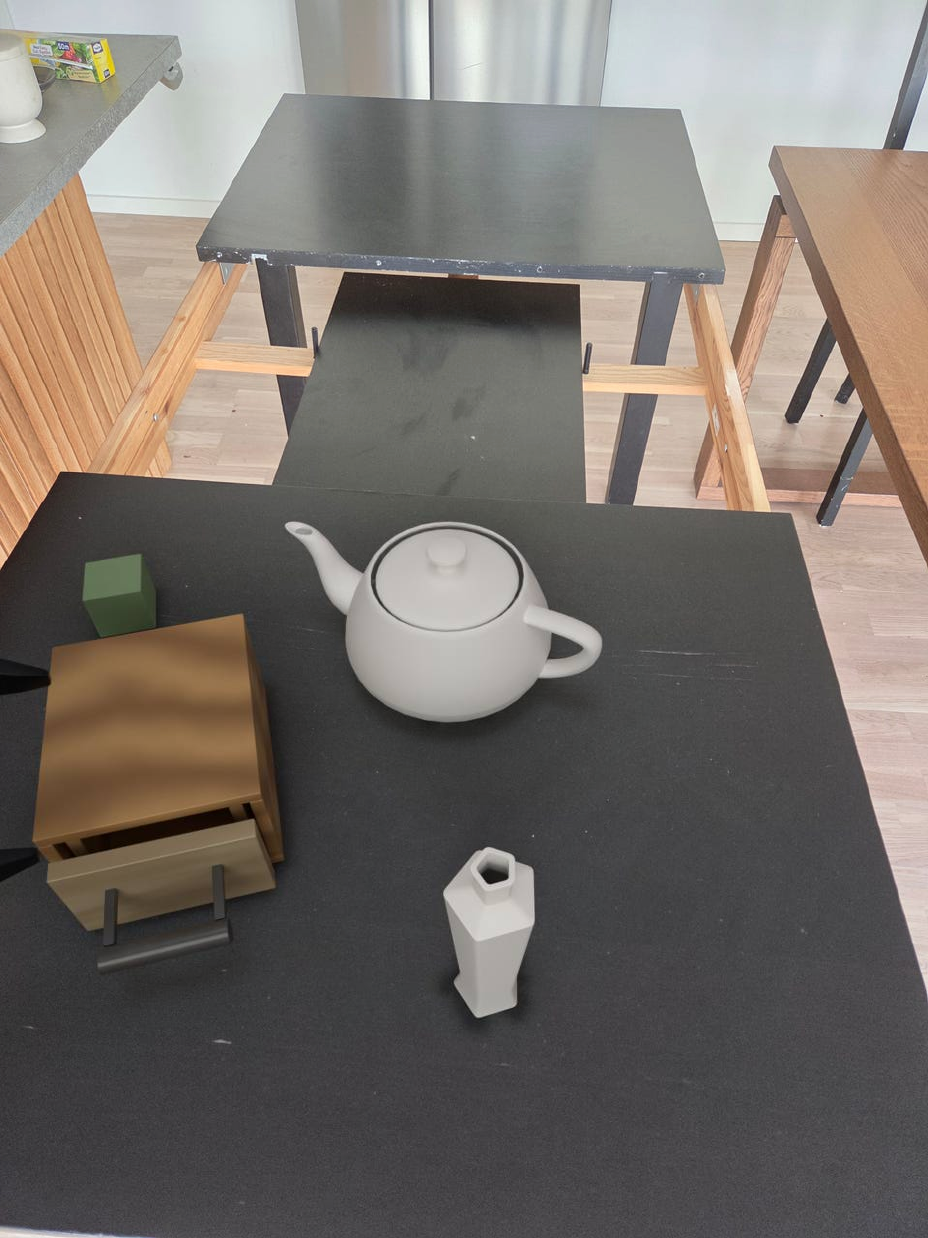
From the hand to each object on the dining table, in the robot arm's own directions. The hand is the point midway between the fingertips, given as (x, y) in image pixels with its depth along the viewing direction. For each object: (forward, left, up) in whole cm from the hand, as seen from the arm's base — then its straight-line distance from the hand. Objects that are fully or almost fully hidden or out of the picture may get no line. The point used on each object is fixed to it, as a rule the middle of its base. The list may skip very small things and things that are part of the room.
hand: (44, 760), depth 41 cm
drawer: (+3, +3, -16) cm, 16 cm away
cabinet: (+3, +8, -17) cm, 19 cm away
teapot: (+23, +15, -17) cm, 32 cm away
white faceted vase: (+20, -10, -17) cm, 28 cm away
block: (-1, +26, -17) cm, 31 cm away
